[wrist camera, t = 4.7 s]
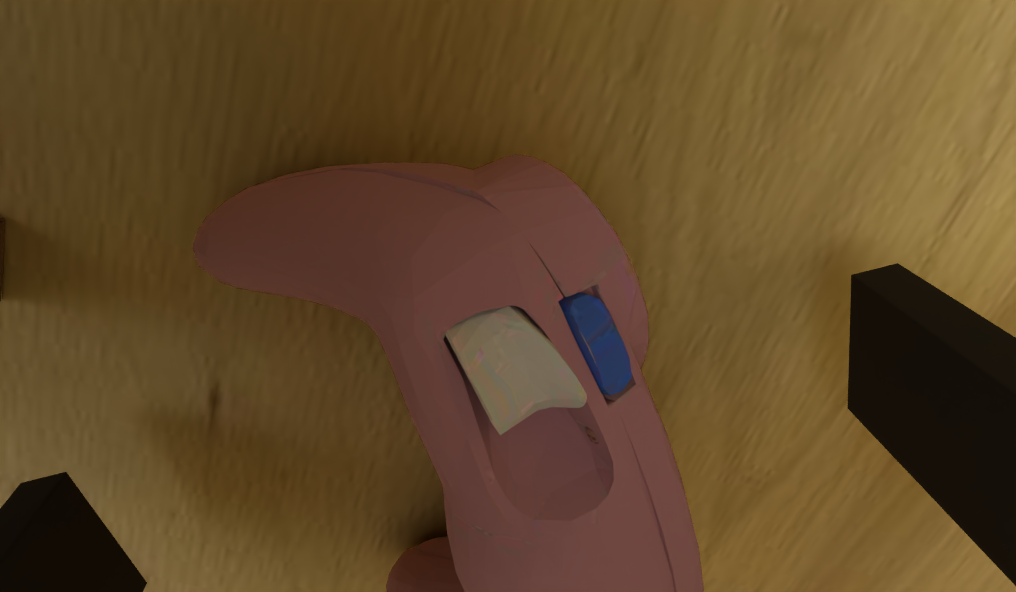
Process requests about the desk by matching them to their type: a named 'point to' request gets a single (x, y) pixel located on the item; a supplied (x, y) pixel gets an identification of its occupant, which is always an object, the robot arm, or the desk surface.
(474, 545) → the video game controller
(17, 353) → the desk surface
